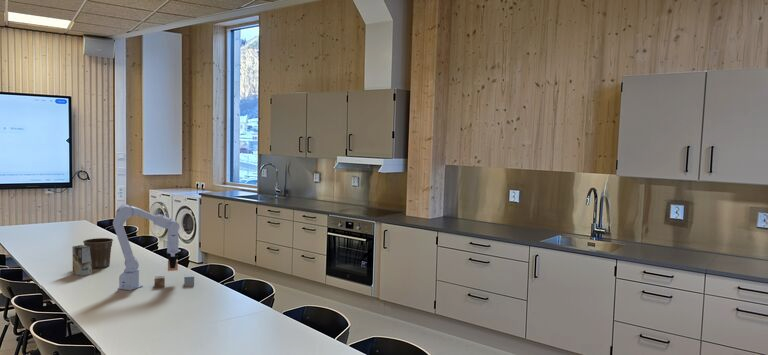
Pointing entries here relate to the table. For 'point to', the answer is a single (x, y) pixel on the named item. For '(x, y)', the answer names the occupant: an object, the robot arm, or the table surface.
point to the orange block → (173, 268)
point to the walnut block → (159, 281)
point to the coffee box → (82, 260)
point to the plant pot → (100, 251)
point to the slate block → (189, 280)
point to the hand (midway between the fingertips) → (172, 266)
